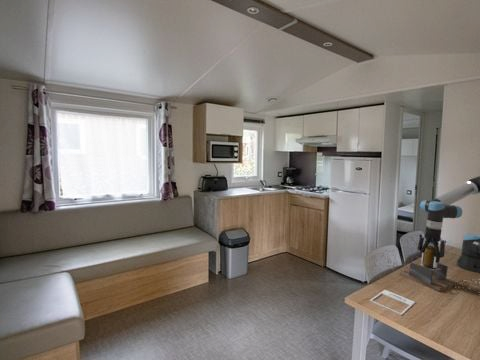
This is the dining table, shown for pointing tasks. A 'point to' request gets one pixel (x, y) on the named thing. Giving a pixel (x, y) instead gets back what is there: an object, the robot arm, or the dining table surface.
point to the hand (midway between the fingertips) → (428, 264)
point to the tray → (429, 276)
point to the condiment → (429, 258)
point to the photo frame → (396, 297)
